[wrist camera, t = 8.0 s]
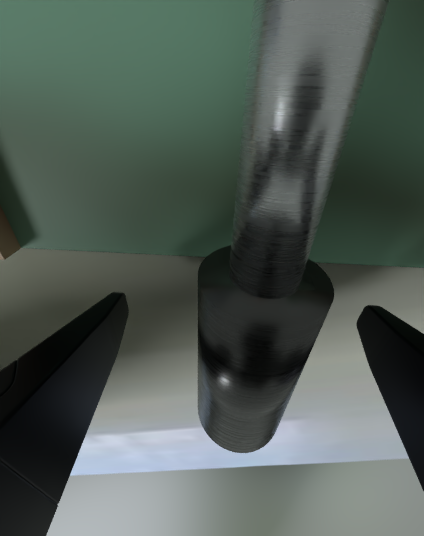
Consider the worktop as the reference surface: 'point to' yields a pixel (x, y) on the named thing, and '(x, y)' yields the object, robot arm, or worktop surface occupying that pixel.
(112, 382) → the worktop surface
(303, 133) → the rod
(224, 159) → the pitch
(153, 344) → the worktop surface
